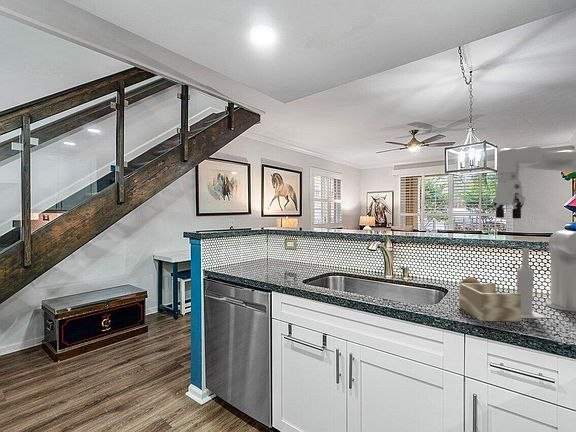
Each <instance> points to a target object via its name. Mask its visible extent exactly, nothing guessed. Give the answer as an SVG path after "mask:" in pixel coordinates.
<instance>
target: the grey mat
mask: <svg viewBox="0 0 576 432" xmlns="http://www.w3.org/2000/svg"><path fill="white" fill-rule="evenodd" d="M521 319H548V316H545V315H543V314H540V313H538V312H536V311H534V310H533V312H532V314H531V315H526V314H521Z"/></svg>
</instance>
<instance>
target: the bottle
mask: <svg viewBox="0 0 576 432" xmlns="http://www.w3.org/2000/svg"><path fill="white" fill-rule="evenodd" d="M521 249H522V251H521V253H522V261H521V262H522V263H521V265H520V267H519V268H518V269H516V293H520V294H521V314H526V315H531V314H532V312H533V311H534V309H533V293H534V273H535V272H534V270H533V269H531V267H530V265H529V263H530V262H529V261H530V260H529V259H530V256H529V255H530V248H527V247H526V248H525V247H524V248H523V247H522V248H521Z"/></svg>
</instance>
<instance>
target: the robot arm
mask: <svg viewBox="0 0 576 432" xmlns="http://www.w3.org/2000/svg"><path fill="white" fill-rule="evenodd" d="M520 168H524V169H525V168H526V169H534V170H543V171H545V170H547V171H556V172H557V171H558V172H571V173H576V149H572V150H570V149H569V150H567V149H566V150H561V151H549V152H548V151H547V152H546V151H545V150H544V149H543V148H542V147H540V146H538V145H530V146H523V147H518V148H517V147H516V148H515V147H510V148H503V149H499V150H498V152H497V184H496V189H495V197H494V198H493V199H492V202H493V205H494V206H495V207H494V210H495V218H497V219H499V218H501V219H504V217H505V208H504V207H505V205H511V206H512V209H511V210H512V211H511V212H512V219H516V220H517V219H521V218H522V209H523V207H524V205H525V201H526V197H525V196H523V188H522V184H521V180H520ZM548 249H549V255H550V299H548V300H546V301H545V305H546V306H547V307H549V308H552V309H556V310H560V311H566V312H572V313H576V231H573V230H566V229H565V230H564V229H563V230H558V231H555V232H554V233H552V234H551V235H550V237H549V238H548Z"/></svg>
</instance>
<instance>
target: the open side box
mask: <svg viewBox="0 0 576 432" xmlns="http://www.w3.org/2000/svg"><path fill="white" fill-rule="evenodd" d="M496 286H497V285H496V283H492V282H491V283H490V282H489V283H486V282H485V283H483V282H482V283H481V282H480V283H461V282H459V308H460V309H462V310H463V311H465V312H466V313H468V314H470V315H471V316H472V317H474V318H476V319H478V320H479V321H481V322H521V321H522V318H521V294H520V293H517V292H499V293H498V292H496V288H497V287H496Z"/></svg>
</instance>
